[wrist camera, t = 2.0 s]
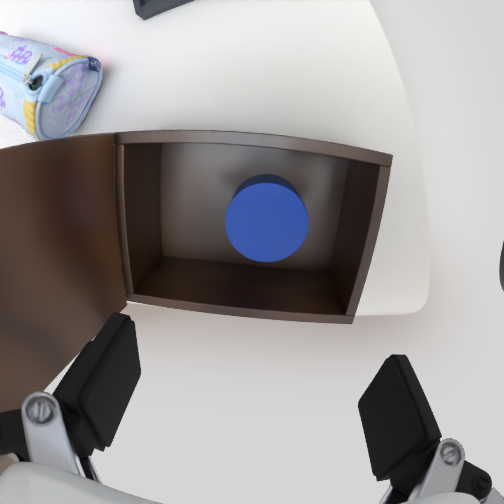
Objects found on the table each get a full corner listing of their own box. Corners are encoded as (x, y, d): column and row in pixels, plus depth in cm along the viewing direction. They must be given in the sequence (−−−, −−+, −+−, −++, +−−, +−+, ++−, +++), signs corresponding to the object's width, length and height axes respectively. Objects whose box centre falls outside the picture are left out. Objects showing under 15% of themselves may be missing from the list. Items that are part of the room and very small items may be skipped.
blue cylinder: (305, 178, 23) (314, 187, 19) (296, 244, 25) (301, 266, 21) (234, 170, 23) (226, 178, 19) (229, 237, 25) (222, 258, 21)
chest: (356, 147, 22) (393, 155, 15) (332, 276, 27) (352, 324, 20) (157, 131, 22) (113, 132, 15) (158, 259, 27) (126, 300, 20)
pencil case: (122, 67, 20) (61, 47, 11) (84, 145, 23) (18, 159, 14) (20, 33, 16) (-29, 26, 7) (-5, 92, 19) (-55, 96, 10)
